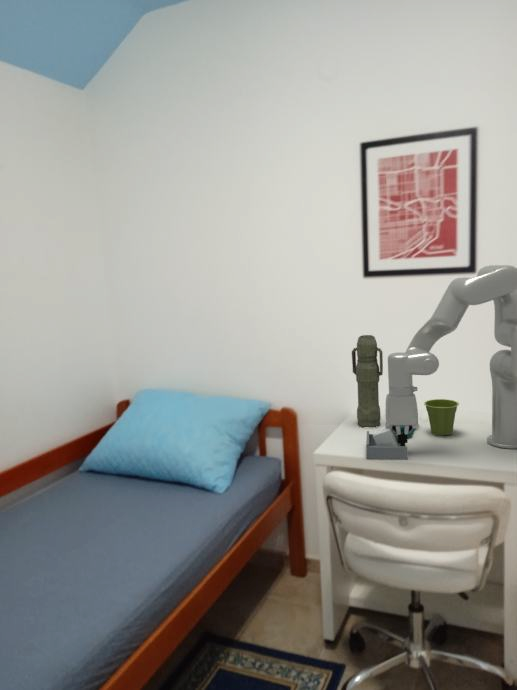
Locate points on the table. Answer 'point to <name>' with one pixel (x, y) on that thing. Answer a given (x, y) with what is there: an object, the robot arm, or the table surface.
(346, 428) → the table surface
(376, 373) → the thermos
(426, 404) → the plant pot
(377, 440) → the product box
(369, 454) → the box
